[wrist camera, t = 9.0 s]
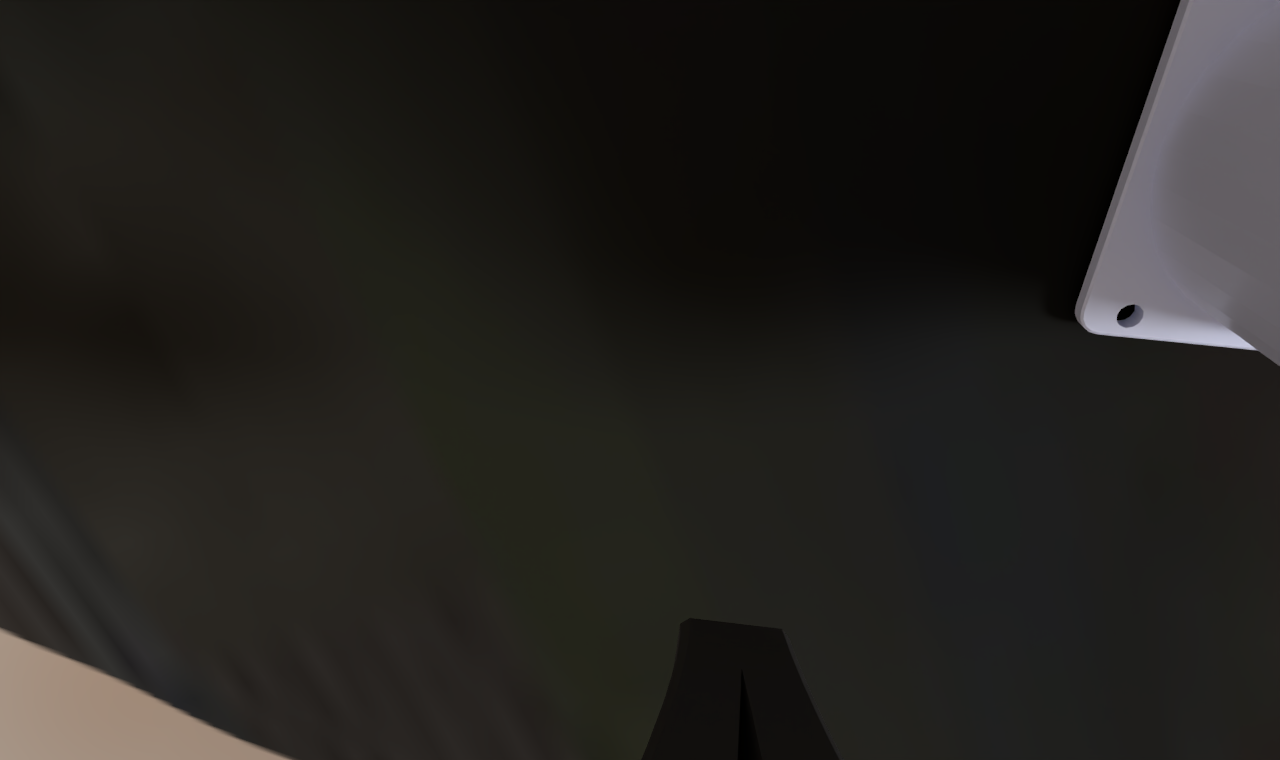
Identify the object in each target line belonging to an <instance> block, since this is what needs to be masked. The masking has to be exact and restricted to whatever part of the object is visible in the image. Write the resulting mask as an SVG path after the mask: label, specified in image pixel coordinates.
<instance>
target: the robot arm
mask: <svg viewBox="0 0 1280 760" xmlns="http://www.w3.org/2000/svg"><path fill="white" fill-rule="evenodd" d="M1133 304H1135V310H1134V312H1133V313H1132V315H1131V316H1130V317H1128V318H1126V319H1125V320H1117V314H1118V313H1119V311H1120V310H1121V309H1122V308H1124V307H1125V306H1127V305H1133ZM1075 316H1076V318H1077V321H1078V322H1079V323H1080V324H1081V325H1082V326H1083V327H1084V328H1085V329H1086V330H1087V331H1089V332H1091V333H1095V334H1099V335H1109V336H1119V337H1129V338H1139V339H1149V340H1159V341H1169V342H1179V343H1189V344H1199V345H1209V346H1219V347H1229V348H1239V349H1249V350H1258V351H1260V352H1261V353H1262V354H1264V355H1265V356H1266V357H1268V358H1269V359H1271V360H1272V361H1273V362H1275V363H1276V364H1277V365H1279V366H1280V0H1181V1H1180V4H1179V7H1178V10H1177V13H1176V15H1175V18H1174V21H1173V24H1172V27H1171V30H1170V33H1169V36H1168V39H1167V42H1166V44H1165V47H1164V50H1163V53H1162V56H1161V59H1160V62H1159V65H1158V68H1157V71H1156V74H1155V76H1154V79H1153V82H1152V85H1151V88H1150V91H1149V94H1148V97H1147V100H1146V103H1145V105H1144V108H1143V111H1142V114H1141V117H1140V120H1139V123H1138V126H1137V129H1136V132H1135V135H1134V137H1133V140H1132V143H1131V146H1130V149H1129V152H1128V155H1127V158H1126V161H1125V164H1124V166H1123V169H1122V172H1121V175H1120V178H1119V181H1118V184H1117V187H1116V190H1115V193H1114V196H1113V198H1112V201H1111V204H1110V207H1109V210H1108V213H1107V216H1106V219H1105V222H1104V225H1103V227H1102V230H1101V233H1100V236H1099V239H1098V242H1097V245H1096V248H1095V251H1094V254H1093V257H1092V259H1091V262H1090V265H1089V268H1088V271H1087V274H1086V277H1085V280H1084V283H1083V286H1082V288H1081V291H1080V294H1079V297H1078V300H1077V303H1076V307H1075ZM641 760H843V758H842V756H841V754H840V752H839V750H838V748H837V746H836V744H835V742H834V740H833V738H832V736H831V734H830V732H829V730H828V728H827V726H826V724H825V722H824V720H823V718H822V715H821V713H820V711H819V709H818V707H817V705H816V702H815V700H814V698H813V696H812V694H811V691H810V689H809V687H808V684H807V682H806V680H805V678H804V675H803V673H802V670H801V668H800V665H799V663H798V660H797V658H796V655H795V653H794V650H793V648H792V645H791V642H790V639H789V637H788V636H787V634H786V633H785V632H784V631H783V630H782V629H777V628H768V627H760V626H751V625H743V624H735V623H726V622H718V621H709V620H701V619H692V618H689V619H688V620H686V621H684V622H683V623H681V624H680V629H679V636H678V643H677V650H676V657H675V663H674V669H673V673H672V677H671V680H670V683H669V686H668V690H667V693H666V696H665V699H664V702H663V705H662V708H661V710H660V713H659V716H658V718H657V721H656V724H655V726H654V729H653V732H652V734H651V737H650V740H649V742H648V745H647V748H646V750H645V752H644V755H643V757H642V759H641Z"/></svg>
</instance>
